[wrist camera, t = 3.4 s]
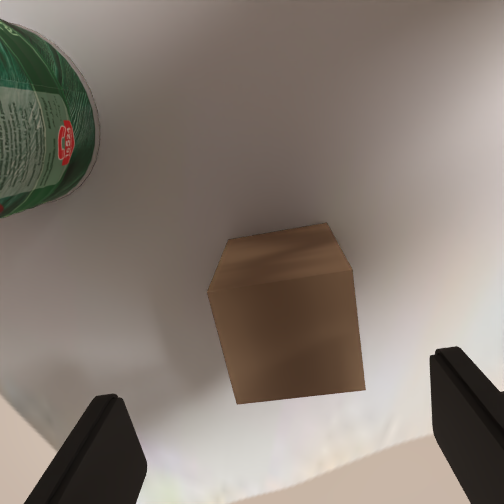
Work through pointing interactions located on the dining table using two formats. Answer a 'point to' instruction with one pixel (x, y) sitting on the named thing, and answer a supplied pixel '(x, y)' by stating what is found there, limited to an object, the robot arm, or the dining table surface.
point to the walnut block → (287, 315)
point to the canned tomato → (42, 122)
